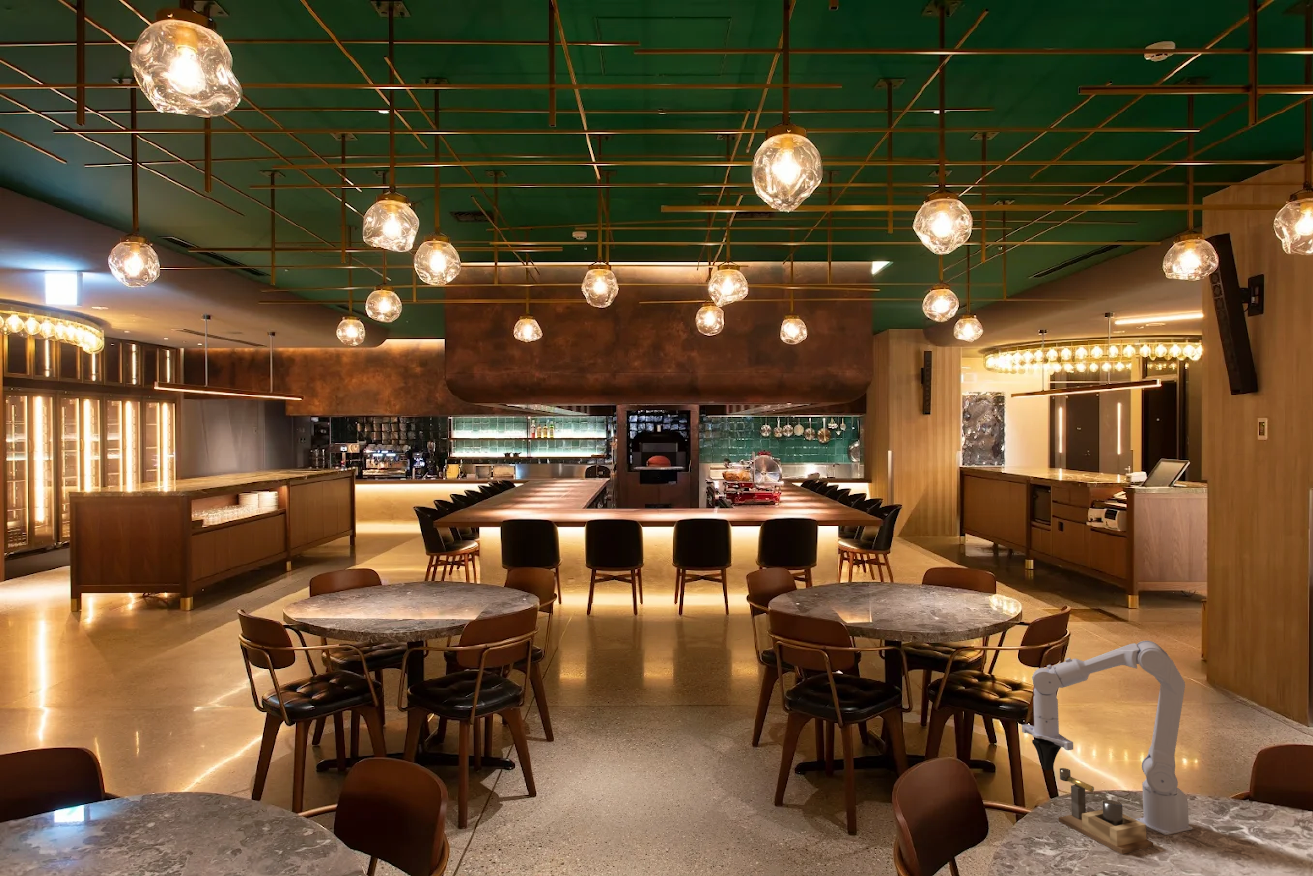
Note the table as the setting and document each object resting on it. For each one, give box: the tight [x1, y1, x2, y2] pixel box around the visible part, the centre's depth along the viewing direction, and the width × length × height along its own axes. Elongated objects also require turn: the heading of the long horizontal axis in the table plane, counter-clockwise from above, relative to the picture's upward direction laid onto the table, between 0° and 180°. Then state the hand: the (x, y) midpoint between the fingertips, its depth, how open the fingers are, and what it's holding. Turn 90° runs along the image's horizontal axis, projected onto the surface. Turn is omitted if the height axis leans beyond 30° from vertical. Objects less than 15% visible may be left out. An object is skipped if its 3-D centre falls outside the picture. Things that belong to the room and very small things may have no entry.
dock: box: [1058, 784, 1154, 855], centre depth 177 cm, size 10×17×8 cm, turn 19°
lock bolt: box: [1059, 767, 1095, 793], centre depth 185 cm, size 2×9×2 cm, turn 19°
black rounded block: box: [1102, 799, 1124, 826], centre depth 175 cm, size 4×4×7 cm
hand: (1047, 769), depth 193 cm, fingers closed
